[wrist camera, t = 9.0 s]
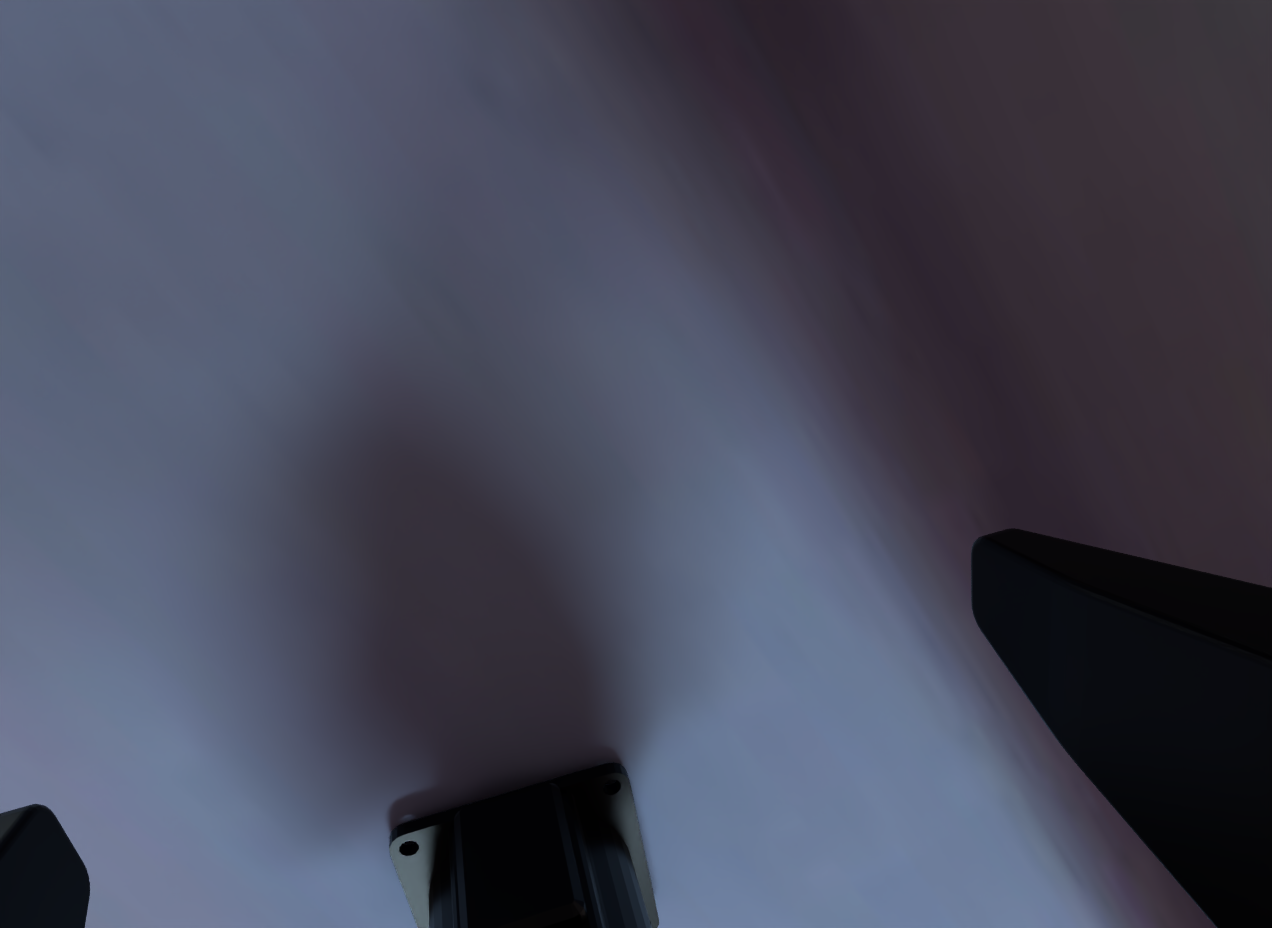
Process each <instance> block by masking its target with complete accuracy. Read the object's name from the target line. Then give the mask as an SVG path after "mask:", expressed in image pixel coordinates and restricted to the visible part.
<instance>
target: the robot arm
mask: <svg viewBox="0 0 1272 928" xmlns="http://www.w3.org/2000/svg"><path fill="white" fill-rule="evenodd" d="M971 602H972V610H973V615H974V618H975V620H976V623H977V625H978V627H979V628H980V630H981V632H982V633H983V634H984V636H985V637H986V639H987V640H988V642H989V643H990V645H991V646H992V647H993V649H994V650H995V652H996V653H997V655H998V656H999V658H1000V659H1001V660H1002V662H1003V663H1004V665H1005V666H1006V668H1007V669H1008V671H1009V672H1010V673H1011V675H1012V676H1013V678H1014V679H1015V681H1016V682H1017V684H1018V685H1019V686H1020V688H1021V689H1022V691H1023V692H1024V694H1025V695H1026V697H1027V698H1028V699H1029V701H1030V702H1031V704H1032V705H1033V707H1034V708H1035V710H1036V711H1037V712H1038V714H1039V715H1040V717H1041V718H1042V720H1043V721H1044V723H1045V724H1046V725H1047V727H1048V728H1049V730H1050V731H1051V732H1052V734H1053V735H1054V736H1055V738H1056V739H1057V740H1058V742H1059V743H1060V744H1061V746H1062V747H1063V748H1064V749H1065V751H1066V752H1067V753H1068V754H1069V755H1070V757H1071V758H1072V759H1073V760H1074V762H1075V763H1076V764H1077V765H1078V766H1079V768H1080V769H1081V770H1082V771H1083V772H1084V773H1085V775H1086V776H1087V777H1088V778H1089V779H1090V780H1091V782H1092V783H1093V784H1094V785H1095V786H1096V787H1097V789H1098V790H1099V791H1100V792H1101V793H1102V794H1103V796H1104V797H1105V798H1106V799H1107V800H1108V801H1109V803H1110V804H1111V805H1112V806H1113V807H1114V808H1115V810H1116V811H1117V812H1118V813H1119V814H1120V815H1121V817H1122V818H1123V819H1124V820H1125V821H1126V822H1127V824H1128V825H1129V826H1130V827H1131V828H1132V829H1133V831H1134V832H1135V833H1136V834H1137V835H1138V836H1139V838H1140V839H1141V840H1142V841H1143V842H1144V843H1145V845H1146V846H1147V847H1148V848H1149V849H1150V850H1151V852H1152V853H1153V854H1154V855H1155V856H1156V857H1157V859H1158V860H1159V861H1160V862H1161V863H1162V864H1163V866H1164V867H1165V868H1166V869H1167V870H1168V871H1169V873H1170V874H1171V875H1172V876H1173V877H1174V878H1175V879H1176V881H1177V882H1178V883H1179V884H1180V885H1181V886H1182V888H1183V889H1184V890H1185V891H1186V892H1187V893H1188V895H1189V896H1190V897H1191V898H1192V899H1193V900H1194V902H1195V903H1196V904H1197V905H1198V906H1199V907H1200V909H1201V910H1202V911H1203V912H1204V913H1205V914H1206V916H1207V917H1208V918H1209V919H1210V920H1211V921H1212V923H1213V924H1214V925H1215V926H1216V927H1217V928H1272V588H1270V587H1266V586H1262V585H1257V584H1253V583H1249V582H1244V581H1240V580H1236V579H1231V578H1227V577H1223V576H1218V575H1214V574H1210V573H1206V572H1201V571H1197V570H1193V569H1188V568H1184V567H1180V566H1175V565H1171V564H1167V563H1162V562H1158V561H1154V560H1149V559H1145V558H1141V557H1137V556H1132V555H1128V554H1124V553H1119V552H1115V551H1111V550H1106V549H1102V548H1098V547H1093V546H1089V545H1085V544H1080V543H1076V542H1072V541H1068V540H1063V539H1059V538H1055V537H1050V536H1046V535H1042V534H1037V533H1033V532H1029V531H1024V530H1020V529H1015V528H1013V529H1006V530H1002V531H999V532H995V533H992V534H988V535H985V536H981V537H979V538H978V539H977V540H976V541H975V542H974V543H973V546H972V551H971ZM610 780H616V781H615V782H614V783H612V784H609V785H605V783H606V782H608V781H610ZM406 841H414V843H413V844H407V845H406V844H403V843H404V842H406ZM389 850H390V856H391V858H392V861H393V864H394V866H395V869H396V872H397V874H398V877H399V879H400V882H401V885H402V887H403V890H404V893H405V895H406V898H407V900H408V903H409V906H410V908H411V911H412V914H413V916H414V919H415V922H416V924H417V927H418V928H657V927H658V925H659V918H658V913H657V909H656V904H655V899H654V894H653V890H652V885H651V880H650V875H649V871H648V866H647V861H646V857H645V852H644V847H643V842H642V838H641V833H640V828H639V823H638V819H637V814H636V809H635V805H634V800H633V795H632V790H631V786H630V781H629V778H628V775H627V772H626V770H625V768H624V767H623V766H622V765H620V764H617V763H606V764H603V765H599V766H596V767H593V768H589V769H586V770H582V771H579V772H576V773H572V774H569V775H566V776H562V777H559V778H555V779H552V780H549V781H545V782H542V783H538V784H535V785H532V786H528V787H525V788H522V789H518V790H515V791H511V792H508V793H505V794H501V795H498V796H495V797H491V798H488V799H484V800H481V801H478V802H474V803H471V804H468V805H464V806H461V807H457V808H454V809H451V810H447V811H444V812H441V813H437V814H434V815H430V816H427V817H424V818H420V819H417V820H413V821H410V822H407V823H404V824H401V825H399V826H397V827H396V828H395V829H394V830H393V831H392V833H391V835H390V844H389ZM89 896H90V882H89V876H88V873H87V869H86V867H85V865H84V863H83V861H82V860H81V858H80V856H79V855H78V853H77V851H76V850H75V848H74V846H73V845H72V843H71V841H70V840H69V838H68V836H67V834H66V833H65V831H64V829H63V828H62V826H61V824H60V823H59V821H58V819H57V818H56V816H55V815H54V813H53V812H52V811H51V810H50V809H49V808H47V807H46V806H44V805H39V804H32V805H29V806H25V807H22V808H18V809H15V810H11V811H7V812H4V813H0V928H85V922H86V916H87V909H88V903H89Z"/></svg>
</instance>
